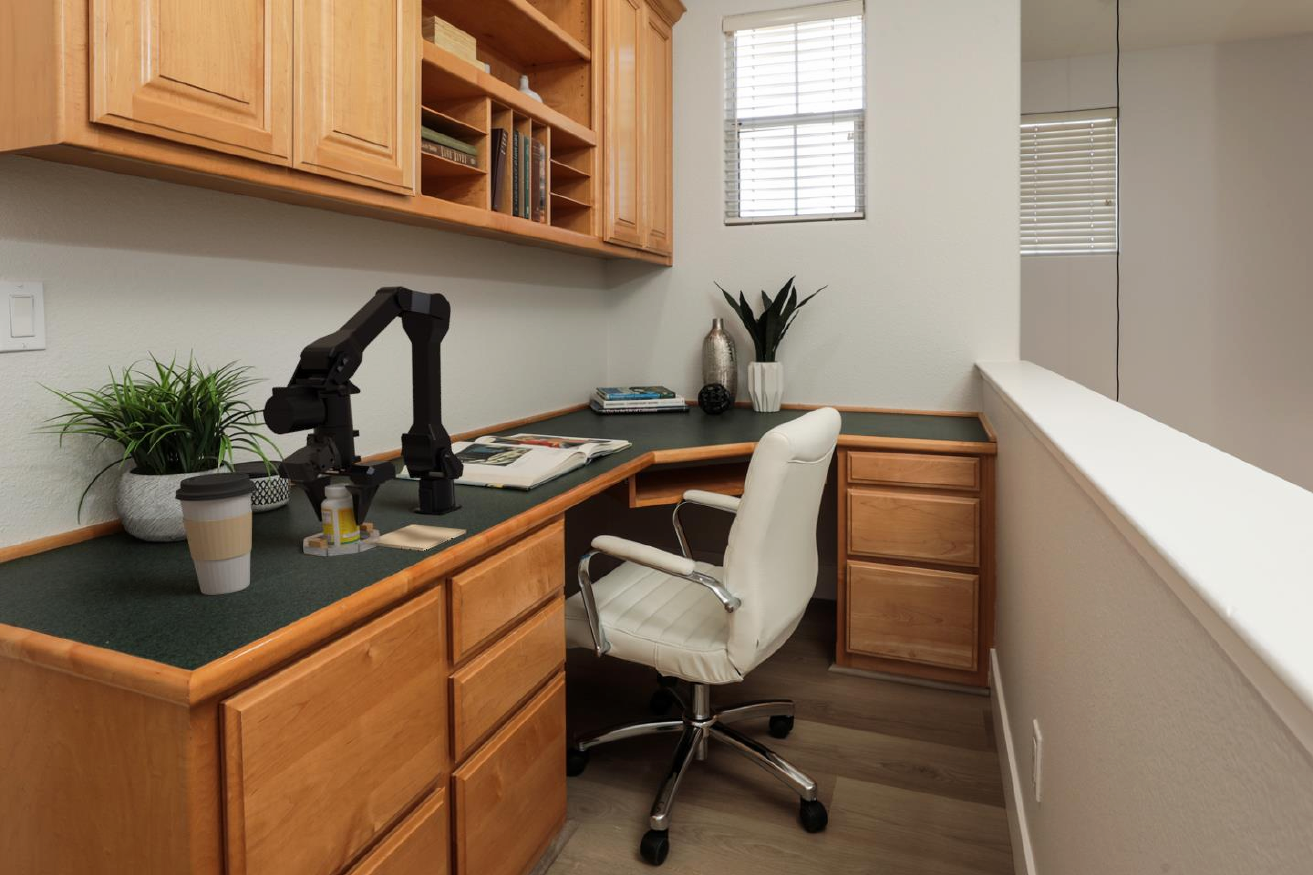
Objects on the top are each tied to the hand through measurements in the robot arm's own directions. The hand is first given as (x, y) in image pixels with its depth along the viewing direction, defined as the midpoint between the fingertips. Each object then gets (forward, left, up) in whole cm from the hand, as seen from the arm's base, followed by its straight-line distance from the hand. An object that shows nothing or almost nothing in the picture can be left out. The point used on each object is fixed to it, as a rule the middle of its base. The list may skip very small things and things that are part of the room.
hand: (341, 523), depth 125 cm
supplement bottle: (0, 0, -4) cm, 4 cm away
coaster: (-7, +9, -4) cm, 12 cm away
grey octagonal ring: (0, 0, -4) cm, 4 cm away
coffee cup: (+21, 0, -4) cm, 21 cm away
